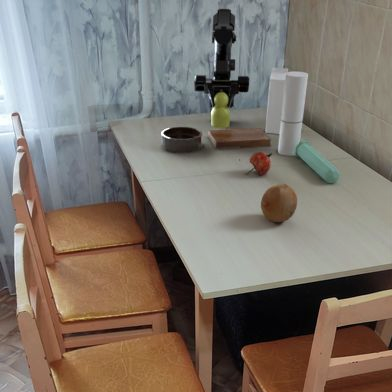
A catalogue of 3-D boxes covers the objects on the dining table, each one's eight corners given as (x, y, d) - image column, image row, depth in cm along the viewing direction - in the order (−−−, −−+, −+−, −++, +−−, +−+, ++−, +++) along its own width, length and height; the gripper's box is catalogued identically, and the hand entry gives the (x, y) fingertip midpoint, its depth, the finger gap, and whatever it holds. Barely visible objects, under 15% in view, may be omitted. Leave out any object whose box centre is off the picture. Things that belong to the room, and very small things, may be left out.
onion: (271, 209, 154) (275, 174, 147) (302, 219, 149) (306, 184, 143) (252, 220, 148) (254, 185, 142) (283, 231, 143) (287, 195, 137)
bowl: (159, 141, 198) (158, 127, 194) (197, 139, 200) (197, 125, 197) (165, 155, 187) (164, 140, 184) (205, 153, 189) (205, 138, 186)
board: (208, 137, 202) (208, 130, 200) (260, 134, 205) (260, 127, 203) (215, 149, 192) (215, 142, 190) (270, 146, 195) (270, 139, 193)
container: (341, 165, 164) (308, 137, 183) (323, 173, 164) (292, 145, 183) (344, 181, 168) (312, 152, 186) (327, 190, 168) (296, 160, 187)
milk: (268, 128, 211) (273, 65, 197) (283, 129, 210) (289, 66, 196) (265, 133, 206) (270, 69, 193) (280, 134, 205) (287, 70, 191)
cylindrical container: (297, 149, 193) (307, 71, 177) (298, 156, 187) (308, 76, 171) (277, 148, 193) (285, 71, 178) (278, 155, 188) (286, 76, 172)
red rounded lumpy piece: (252, 186, 172) (279, 167, 169) (239, 167, 169) (266, 147, 166) (251, 179, 178) (277, 161, 175) (239, 161, 176) (265, 142, 172)
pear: (207, 124, 191) (207, 89, 184) (222, 120, 194) (223, 86, 186) (218, 129, 187) (219, 93, 179) (233, 125, 190) (235, 90, 182)
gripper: (194, 48, 179) (192, 93, 177) (251, 49, 178) (249, 94, 177) (195, 68, 190) (193, 111, 189) (248, 69, 189) (247, 112, 188)
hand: (220, 107), depth 185 cm, fingers closed on pear, 5 cm apart
